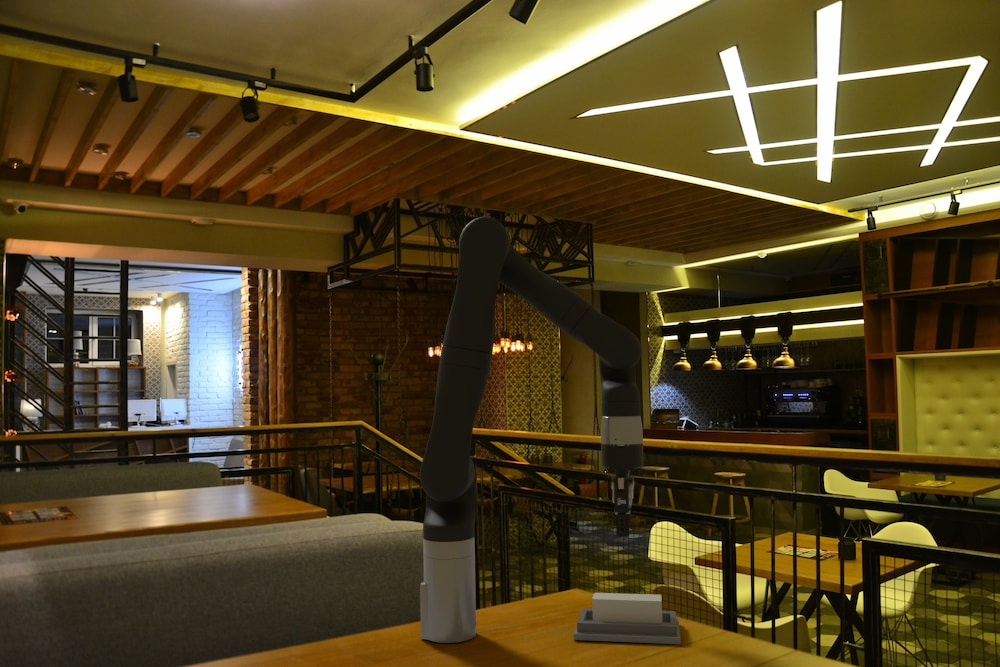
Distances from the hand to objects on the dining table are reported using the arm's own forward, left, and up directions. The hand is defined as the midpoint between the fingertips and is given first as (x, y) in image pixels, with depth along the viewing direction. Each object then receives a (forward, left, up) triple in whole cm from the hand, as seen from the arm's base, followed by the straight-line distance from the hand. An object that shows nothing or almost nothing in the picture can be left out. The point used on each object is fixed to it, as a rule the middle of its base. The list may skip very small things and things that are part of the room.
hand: (624, 532), depth 139 cm
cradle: (0, 0, -17) cm, 17 cm away
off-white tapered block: (0, 0, -16) cm, 16 cm away
